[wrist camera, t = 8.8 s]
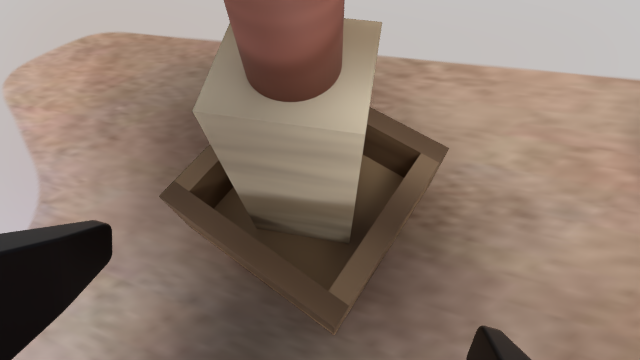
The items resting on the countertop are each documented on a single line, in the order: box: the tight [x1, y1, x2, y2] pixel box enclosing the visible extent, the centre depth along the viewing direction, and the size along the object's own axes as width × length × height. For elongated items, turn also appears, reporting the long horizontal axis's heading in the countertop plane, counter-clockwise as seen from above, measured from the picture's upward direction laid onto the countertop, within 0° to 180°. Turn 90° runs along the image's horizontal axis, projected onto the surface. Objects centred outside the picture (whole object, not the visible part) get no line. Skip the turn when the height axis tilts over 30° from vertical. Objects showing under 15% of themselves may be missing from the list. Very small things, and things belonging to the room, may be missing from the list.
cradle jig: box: [159, 107, 449, 335], centre depth 19 cm, size 10×10×4 cm
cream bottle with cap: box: [192, 0, 382, 244], centre depth 14 cm, size 4×5×13 cm
